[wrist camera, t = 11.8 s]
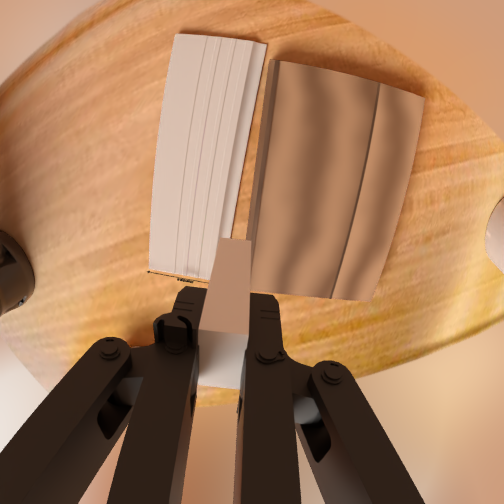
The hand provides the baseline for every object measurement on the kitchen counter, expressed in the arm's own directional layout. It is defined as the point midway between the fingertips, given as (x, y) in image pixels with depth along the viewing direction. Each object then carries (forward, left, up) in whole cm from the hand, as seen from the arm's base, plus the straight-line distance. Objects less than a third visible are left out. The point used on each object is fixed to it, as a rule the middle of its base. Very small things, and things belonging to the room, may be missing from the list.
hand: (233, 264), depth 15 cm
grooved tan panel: (+10, -1, -23) cm, 25 cm away
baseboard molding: (-5, 0, -24) cm, 24 cm away
